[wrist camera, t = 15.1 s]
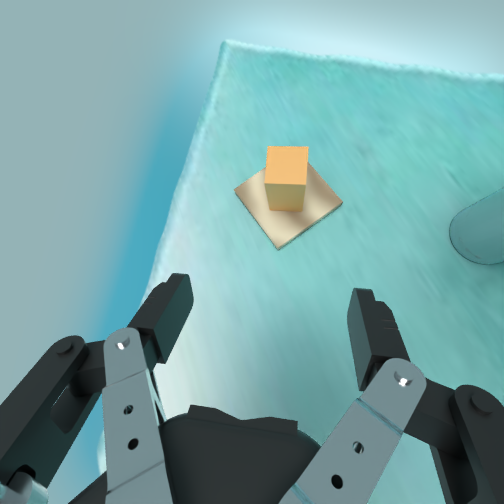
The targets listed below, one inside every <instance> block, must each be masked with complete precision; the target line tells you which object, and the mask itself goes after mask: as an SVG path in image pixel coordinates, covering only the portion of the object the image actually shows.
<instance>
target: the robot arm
mask: <svg viewBox="0 0 504 504" xmlns="http://www.w3.org/2000/svg"><path fill="white" fill-rule="evenodd" d="M450 237H451V241H452V243H453V245H454V247H455V248H456V249H457V251H458V252H459V253H460V254H461V255H463V256H464V257H465V258H467V259H469V260H471V261H473V262H476V263H480V264H494V263H499V262H504V188H502V189H500V190H498V191H496V192H495V193H493V194H491V195H489V196H487V197H486V198H484V199H482V200H480V201H478V202H476V203H475V204H473V205H471V206H469V207H468V208H466V209H464V210H462V211H461V212H460V213H458V214H457V215H456V216H455V217H454V219H453V221H452V223H451V226H450ZM193 300H194V298H193V292H192V287H191V282H190V277H189V275H188V274H179V273H173V274H172V275H171V276H170V277H169V279H168V280H167V282H166V283H165V282H162V283H160V284H159V285H158V286H156V287H155V288H154V289H153V290H152V292H151V293H150V294H149V296H148V298H147V299H146V300H145V302H144V304H142V306H141V307H140V309H139V310H138V312H137V313H136V314H135V316H134V317H133V319H132V320H131V322H130V323H129V324H128V326H127V327H126V328H122V329H119V330H117V331H115V332H113V333H112V334H111V335H110V336H109V337H108V338H107V339H106V340H103V341H97V342H91V343H85V341H84V339H83V338H82V337H80V336H68V337H65V338H63V339H61V340H59V341H57V342H56V343H54V344H53V345H52V346H51V347H50V348H49V349H48V350H47V352H46V353H45V354H44V355H43V356H42V357H41V359H40V360H39V361H38V362H37V363H36V364H35V365H34V367H33V368H32V369H31V370H30V371H29V372H28V374H27V375H26V376H25V377H24V378H23V380H22V381H21V382H20V383H19V384H18V385H17V387H16V388H15V389H14V390H13V391H12V392H11V393H10V395H9V396H8V397H7V398H6V399H5V400H4V402H3V403H2V404H1V405H0V504H48V491H47V488H48V486H49V484H50V482H51V480H52V479H53V477H54V475H55V474H56V472H57V470H58V468H59V466H60V465H61V463H62V461H63V460H64V458H65V456H66V454H67V452H68V451H69V449H70V447H71V446H72V444H73V442H74V440H75V439H76V437H77V435H78V433H79V432H80V430H81V428H82V426H83V424H84V423H85V421H86V419H87V418H88V416H89V414H90V412H91V410H92V409H93V407H94V405H95V403H96V401H97V400H98V398H99V396H100V394H101V393H102V401H103V418H104V434H105V450H106V466H107V470H106V471H105V472H104V473H103V474H102V475H101V476H100V477H98V478H97V479H96V480H95V481H94V482H93V483H91V484H90V485H89V486H88V487H87V488H86V489H84V490H83V491H82V492H81V493H80V494H79V495H77V496H76V497H75V498H74V499H73V500H72V501H70V502H69V503H68V504H367V502H368V500H369V498H370V496H371V494H372V492H373V490H374V488H375V486H376V484H377V482H378V480H379V479H380V477H381V475H382V473H383V471H384V469H385V467H386V465H387V463H388V461H389V459H390V457H391V455H392V453H393V452H394V450H395V448H396V446H397V444H398V442H399V440H400V438H401V436H402V434H403V432H404V433H406V434H409V435H411V436H413V437H415V438H417V439H419V440H421V441H423V442H425V443H427V444H429V446H430V449H431V453H432V456H433V460H434V463H435V467H436V470H437V474H438V477H439V481H440V484H441V488H442V491H443V495H444V498H445V502H446V504H504V407H503V405H502V404H501V403H500V402H499V401H498V400H497V399H496V398H495V397H494V396H493V395H491V394H490V393H489V392H487V391H485V390H483V389H481V388H479V387H476V386H473V385H461V386H459V387H458V388H457V389H456V390H453V389H451V388H448V387H446V386H443V385H441V384H438V383H435V382H433V381H431V380H429V379H427V378H426V377H425V376H424V375H423V373H422V372H421V370H420V369H419V368H418V367H416V366H415V365H414V364H412V363H411V361H410V359H409V356H408V353H407V351H406V348H405V345H404V343H403V340H402V337H401V335H400V332H399V330H398V327H397V324H396V322H395V318H394V316H393V313H392V310H391V309H390V308H389V307H388V306H387V305H386V304H385V303H384V302H381V301H375V297H374V294H373V291H372V290H371V289H361V288H354V289H353V292H352V296H351V300H350V304H349V309H348V314H347V324H348V330H349V336H350V341H351V347H352V353H353V359H354V364H355V370H356V376H357V381H358V387H359V391H364V393H363V394H362V396H361V397H360V398H359V399H358V398H357V399H356V400H355V401H354V402H353V404H352V405H351V406H350V408H349V409H348V410H347V412H346V413H345V415H344V416H343V417H342V419H341V420H340V422H339V423H338V424H337V426H336V427H335V429H334V430H333V431H332V433H331V434H330V436H329V437H328V438H327V440H326V441H325V443H324V444H323V445H322V447H321V446H320V445H319V444H318V443H317V442H316V441H315V440H313V439H312V438H311V437H310V436H308V435H307V434H305V433H303V432H301V431H299V430H297V425H298V421H294V420H287V419H281V418H274V417H265V418H257V419H249V420H239V419H237V418H235V417H233V416H231V415H229V414H226V413H224V412H222V411H220V410H218V409H216V408H210V407H204V406H197V405H190V408H189V411H188V413H184V414H180V415H177V416H175V417H172V418H170V419H168V420H167V419H166V416H165V413H164V410H163V406H162V402H161V398H160V394H159V390H158V386H157V382H156V378H155V374H154V370H153V369H154V367H155V365H156V363H162V364H166V362H167V360H168V357H169V355H170V353H171V351H172V349H173V347H174V345H175V343H176V341H177V339H178V337H179V334H180V332H181V330H182V328H183V326H184V324H185V322H186V320H187V318H188V316H189V313H190V311H191V309H192V306H193ZM64 389H65V390H64ZM63 390H64V391H63ZM62 392H63V393H62ZM61 393H62V394H61ZM60 395H61V396H60ZM59 396H60V397H59ZM58 397H59V399H58ZM57 399H58V400H57ZM55 402H56V403H55ZM54 403H55V404H54ZM53 405H54V406H53Z"/></svg>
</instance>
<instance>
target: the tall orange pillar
mask: <svg viewBox="0 0 504 504" xmlns="http://www.w3.org/2000/svg"><path fill="white" fill-rule="evenodd" d="M307 163H308V147H288V146H268V150H267V160H266V171H265V181H264V184H265V190H266V195H267V200H268V205H269V210H274V211H295V212H302V210H303V203H304V196H305V189H306V178H307Z"/></svg>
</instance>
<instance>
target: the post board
mask: <svg viewBox="0 0 504 504" xmlns="http://www.w3.org/2000/svg"><path fill="white" fill-rule="evenodd" d="M265 171H266V167H265V168H264V169H262V170H261V171H259V172H258V173H256V174H255V175H254V176H252V177H251V178H249V179H248V180H247V181H245V182H244V183H242V184H241V185H240V186H238V187H237V188H235V189H234V191H235V193H236V195H237V196H238V197H239V199H240V200H241V201H242V203H243V204H244V205H245V207H246V208H247V209H248V211H249V212H250V213H251V215H252V216H253V217H254V219H255V220H256V221H257V223H258V224H259V225H260V227H261V228H262V229H263V231H264V232H265V233H266V235H267V236H268V237H269V239H270V240H271V241H272V243H273V244H274V246H275V247H276V248H277V250H279V249H281V248H282V247H283V246H285V245H286V244H288V243H289V242H290V241H292V240H293V239H295V238H296V237H297V236H299V235H300V234H302V233H303V232H304V231H306V230H307V229H309V228H310V227H312V226H313V225H314V224H316V223H317V222H319V221H320V220H321V219H323V218H324V217H326V216H327V215H328V214H330V213H331V212H333V211H334V210H335V209H337V208H338V207H340V206H341V205H342V203H343V202H342V200H341V199H340V198H339V197H338V196H337V195H336V194H335V192H334V191H333V190H332V189H331V188H330V187H329V185H328V184H327V183H326V182H325V181H324V180H323V179H322V177H321V176H320V175H319V174H318V173H317V172H316V171H315V169H314V168H313V167H312V166H311V165H310V164H309V162H308V163H307V178H306V189H305V196H304V203H303V210H302V212H295V211H274V210H269V205H268V200H267V195H266V190H265V184H264V181H265Z"/></svg>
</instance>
